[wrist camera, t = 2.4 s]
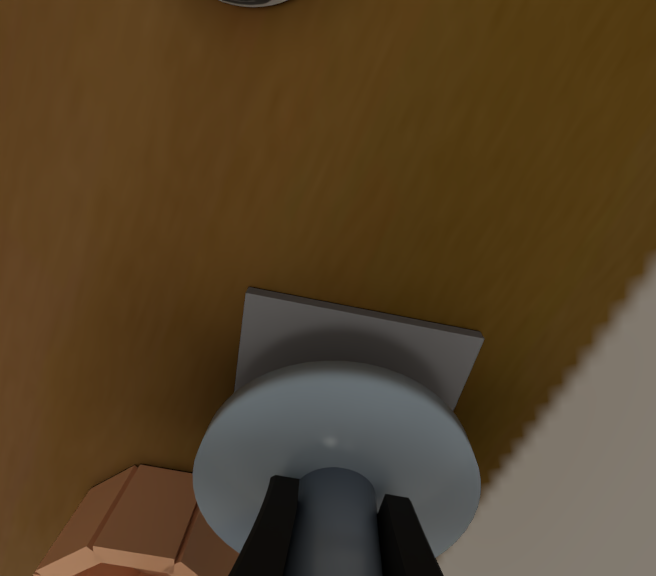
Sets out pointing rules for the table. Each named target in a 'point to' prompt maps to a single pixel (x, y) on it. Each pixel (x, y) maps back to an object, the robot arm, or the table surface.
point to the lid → (337, 462)
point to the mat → (352, 341)
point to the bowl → (139, 531)
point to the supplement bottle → (253, 2)
